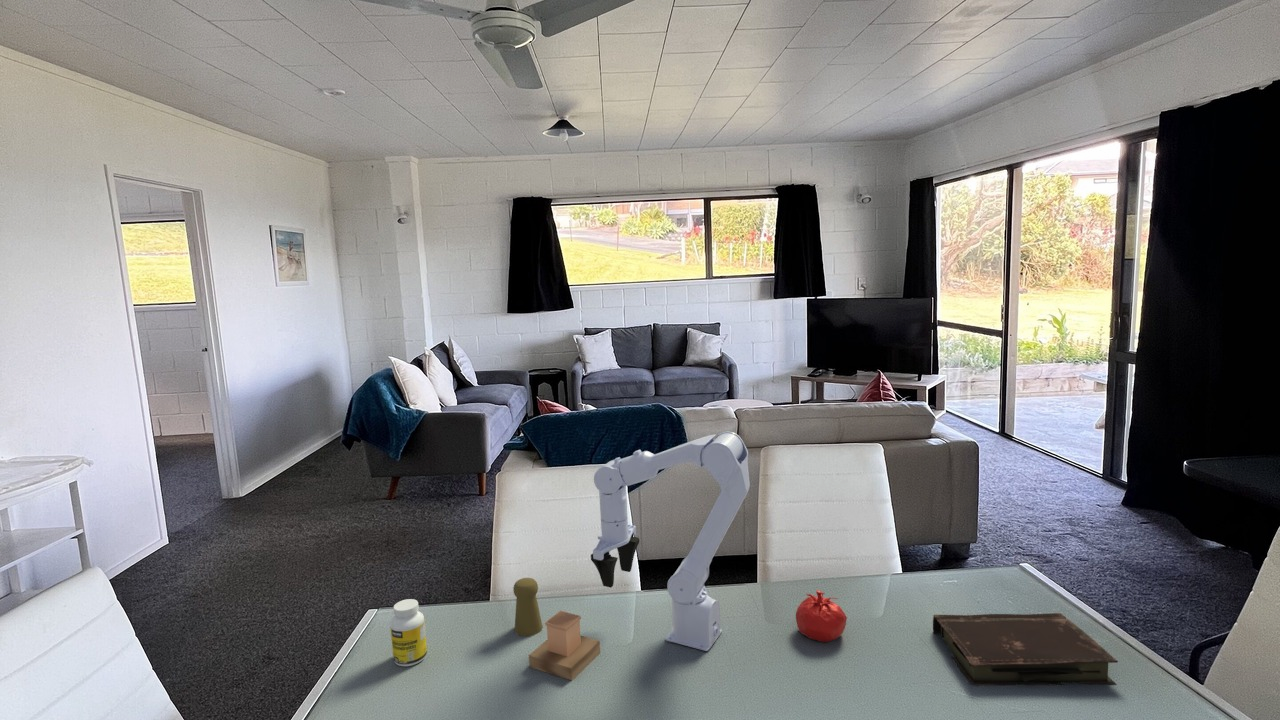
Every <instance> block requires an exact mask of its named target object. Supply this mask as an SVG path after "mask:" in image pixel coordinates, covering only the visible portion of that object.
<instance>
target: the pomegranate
mask: <svg viewBox="0 0 1280 720" xmlns="http://www.w3.org/2000/svg"><path fill="white" fill-rule="evenodd" d="M815 591H816V592H815V593H816V596H815V595H813V594H810V593H809V594H808V593H806V594H805V595H806V596H807V597H806V598H805V599H803V600H802V602H801V603H800V604H799V605H798V607H797V608H796V612H795V622H796V627H797V629H798V631H799V632H800V633H801V634H802V635H804V636H806V637H807V638H809V639H811V640H814V641H818V642H822V643H826V642H832V641H834V640H836V639H838V638H839V637H840V636H842V635H843V633H844V631H845V629H846V625H847V614H846V613H845V612H844V611H843V609H842V608H841V606H840V605H839V604H837V603H836V602H834V601H832V600H831V599H836V600H838V599H839V598H838V597H834V596H833V597H824V595H825V592H822V591H821V590H820V589H816V590H815Z"/></svg>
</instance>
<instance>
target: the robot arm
mask: <svg viewBox="0 0 1280 720" xmlns="http://www.w3.org/2000/svg"><path fill="white" fill-rule="evenodd" d="M716 435H717V434H715V433H714V434H709V435H706V436H703V437H700V438H697V439H694V440H693V439H692V440H691V441H688V442H685V443H682V444H679V445H677V446H674V447H671V448H669V449H666V450H664V451H660V452H658V453H655V454H654V453H652V452H651V451H648V450H644V451H642V450H641V449H638V450H635V451H634V452H633V453H632V455H630V456H626V457H623V458H621V457H620V456H619V457H616V458H615V459H612V460H609V461H608V462H607V463H605V464H603V465H602V466H601V467H599V468H598V469H597V470H596V472H595V473H594V476H593V482H594V485H595V487H596V489H597V490H598V492H599V512H600V528H601V532H600V533H599V534H598V535H597V540H599V541H598V543H597V545H596V547H595V548H594V549H592V553H591V554H590V560H591V562H592V563H593V564H594V566H595V567H596V569H597V571H598V574H599V578H600V579H601V584H602V586H603V587H607V588H613V587H614V583H615V582H614V581H615V569H616V564H617V562H618V560H619V566H620V567H619V568H620V570H621V571H623V572H626V573H630V572H631V571H632V567H633V562H634V557H635V554H636V551H637V548H638V545H639V544H640V537H638V536H635V535H636V534H637V527H636V525H631V524H629V521H628V520H629V518H628V502H627V501H628V500H627V497H628V495H627V487H630V486H632V485H635V484H638V483H642V482H644V481H645V482H646V481H648V480H652V479H654V478H656V477H657V475H658V472H659V471H660V470H663V469H668V468H672V467H675V466H678V465H682V464H686V463H692V464H693V465H695V466H696V467H698V468H700V469H702V468H703V466H704V468H705V469H706V470H707V471H708V473H709V474H710V475H711V477H713V479H714V480H715V481H716V483H718V486H719V487H720V490H721V491H720V493H719V495H718V497H717V499H716V501H715V503H714V504H713V507H712V509H711V511H710V512H709V515H708V517H707V518H706V520H705V522H704V524H703V526H702V528H701V530H700V531H699V533H698V536H697V537H696V539H695V541H694V543H693V545H692V547H691V549H690V551H689V553H688V554H687V556H686V557H685V558H684V559H682V561H681V563H680V565H679V566H678V568H677V569H676V571H675V572H674V573H673V575H671V576H670V578H669V579H668V581H667V582H666V583H667V584H666V585H667V587H666V588H667V592H668V594H669V596H670V597H671V607H672V609H671V611H672V629H671V631H670V632H669V634H667V636H666V637H665V640H666V642H670V643H674V644H679V645H683V646H686V647H690V648H693V649H698V650H701V651H705V652H708V651H709V650H710V649H711V647H712V646H714V645H713V644H714V643H715V642H716V641H717V640H718V638H719V637H720V635H721V634H722V633H723V629H721V607H720V603H719V600H716V599H715V598H713V597H711V596H709V595H708V592H707V588H706V586H705V583H706V581H708V579H709V577H710V565H711V563H712V562H713V558H714V556H715V554H716V552H717V551H718V550H719V549H718V548H719V547H720V545H721V543H722V542H723V539H724V537H725V536H726V534H727V532H728V530H729V528H730V526H731V524H732V522H734V521H733V520H734V519H735V517H736V515H737V514H738V511H739V510H740V507H741V506H742V504H743V502H744V500H745V498H746V497H747V494H748V492H749V491H750V487H751V483H750V474H749V472H750V471H749V464H748V462H749V460H748V459H749V450H748V448H747V447H746V444H745V442H744V441H743V439H742V438H741V436H740V435H739V434H737V433H736V432H734V431H723V432H721V433H719V434H718V435H717V436H716ZM615 549H616V550H617V553H618V557H616V556H612V554H610V553H611V551H613V550H615Z"/></svg>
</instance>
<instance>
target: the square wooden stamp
mask: <svg viewBox="0 0 1280 720" xmlns="http://www.w3.org/2000/svg"><path fill="white" fill-rule="evenodd" d="M581 619H582V616H581V615H579V614H575V613H571V612H567V611H564V610H559V611H558V612H557V613H555V614H553V616H551V617H550V618H549V619H548V620H547V621H545V622H544V624H545V625H544V626H546V634H547V639H548V651H551V652H554V653H557V654H560V655H563V656H567V657H568V656H569V655H570V654H571V653H572V652H573V651H574V650H576V649H577V648H578V647H579V646H580V645H581V636H582V635H581Z"/></svg>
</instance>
